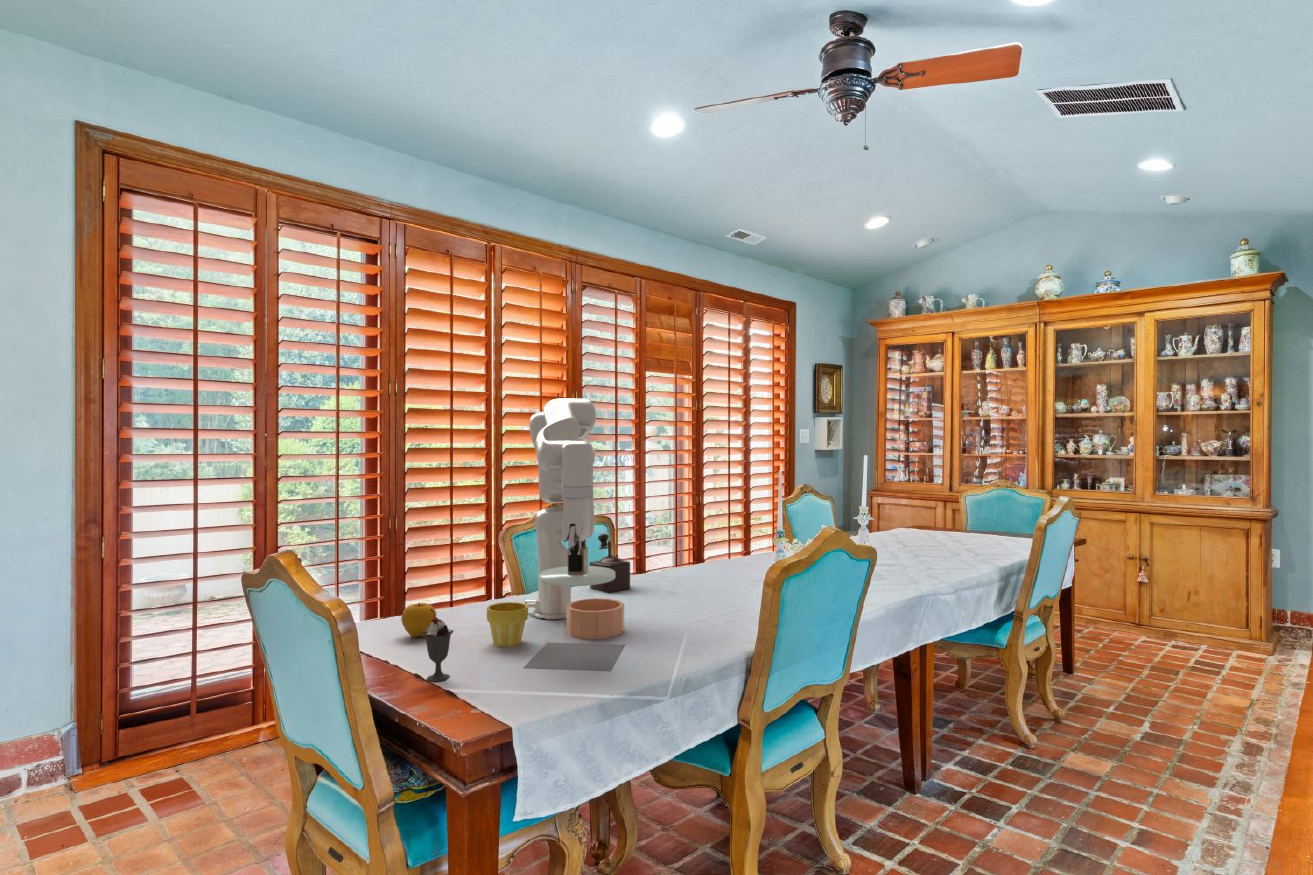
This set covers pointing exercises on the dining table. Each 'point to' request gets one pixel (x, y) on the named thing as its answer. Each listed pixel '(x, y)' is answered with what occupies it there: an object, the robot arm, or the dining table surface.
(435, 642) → the sundae
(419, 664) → the dining table surface
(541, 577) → the lid
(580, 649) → the mat
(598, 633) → the bowl
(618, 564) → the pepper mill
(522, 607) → the plant pot
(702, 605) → the dining table surface
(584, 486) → the robot arm
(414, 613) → the apple
